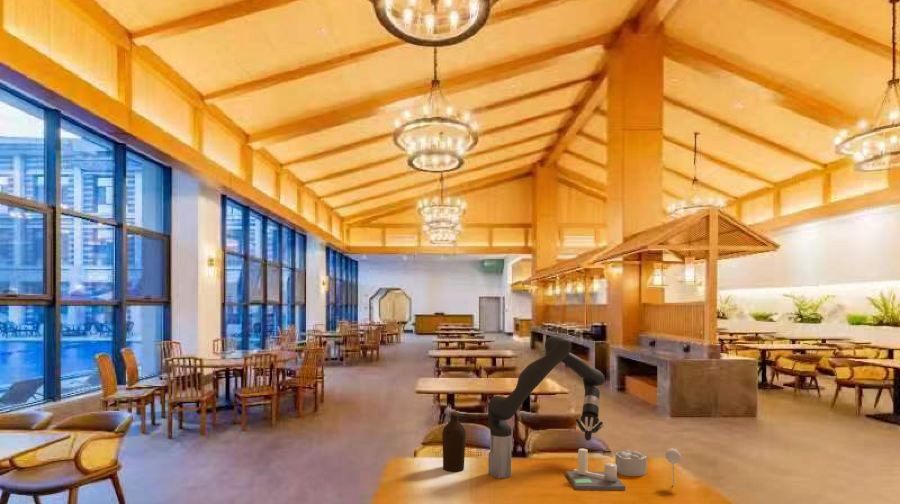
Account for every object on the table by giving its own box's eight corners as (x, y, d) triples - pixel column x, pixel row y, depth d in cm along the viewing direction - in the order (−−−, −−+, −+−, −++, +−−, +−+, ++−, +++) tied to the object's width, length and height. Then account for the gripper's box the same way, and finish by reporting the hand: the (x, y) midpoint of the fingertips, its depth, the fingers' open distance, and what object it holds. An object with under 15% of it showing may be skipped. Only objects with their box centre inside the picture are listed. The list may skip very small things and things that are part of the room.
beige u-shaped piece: (618, 479, 223) (618, 454, 224) (614, 482, 219) (614, 457, 220) (576, 470, 234) (576, 446, 235) (571, 473, 230) (571, 449, 231)
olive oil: (465, 473, 234) (466, 414, 236) (441, 472, 234) (442, 414, 236) (465, 465, 244) (466, 409, 246) (442, 464, 245) (443, 409, 247)
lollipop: (680, 484, 224) (680, 447, 226) (682, 488, 219) (681, 451, 220) (665, 482, 226) (664, 446, 228) (665, 486, 221) (665, 449, 222)
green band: (589, 479, 224) (589, 478, 224) (592, 482, 220) (592, 482, 220) (572, 479, 223) (572, 479, 223) (576, 483, 219) (576, 482, 219)
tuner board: (576, 489, 216) (576, 485, 216) (566, 474, 234) (566, 470, 234) (625, 490, 216) (625, 486, 216) (611, 475, 234) (611, 471, 234)
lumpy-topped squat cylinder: (613, 468, 244) (613, 449, 245) (641, 468, 245) (640, 448, 246) (622, 476, 234) (622, 455, 234) (651, 475, 235) (651, 455, 235)
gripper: (576, 401, 257) (572, 433, 245) (604, 404, 252) (602, 436, 240) (577, 410, 261) (573, 442, 249) (605, 413, 257) (603, 445, 244)
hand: (587, 439), depth 244 cm, fingers closed
